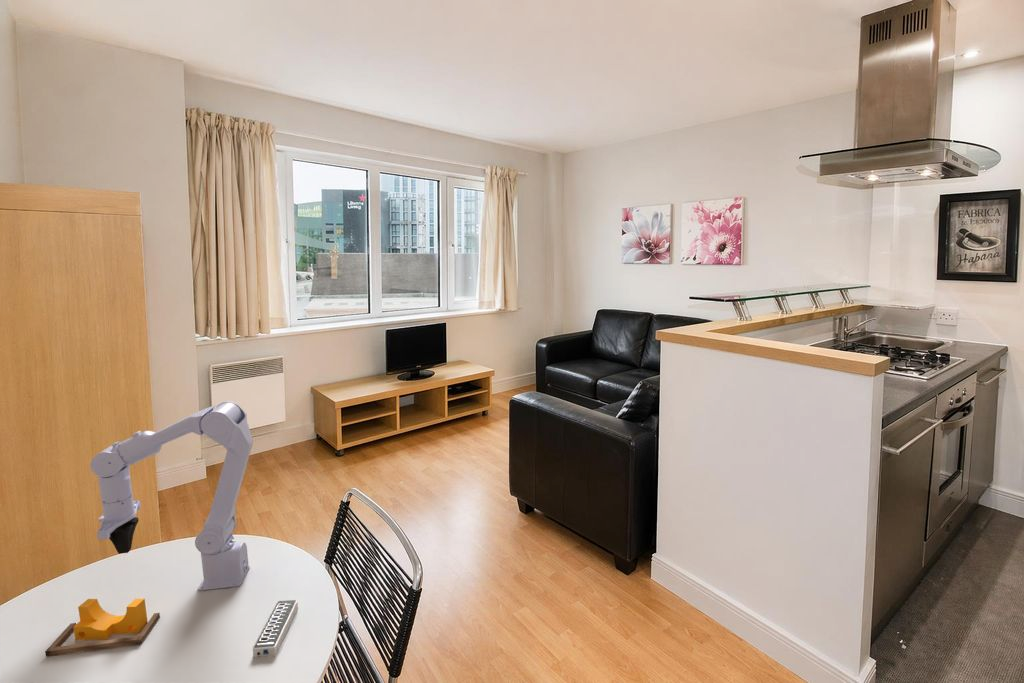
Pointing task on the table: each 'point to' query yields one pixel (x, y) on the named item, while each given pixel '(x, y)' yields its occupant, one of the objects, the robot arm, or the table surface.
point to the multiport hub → (275, 629)
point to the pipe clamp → (109, 621)
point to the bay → (99, 645)
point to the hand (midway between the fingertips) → (124, 551)
